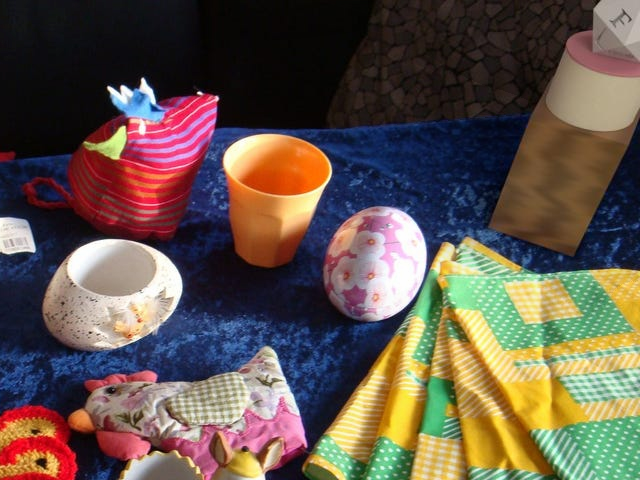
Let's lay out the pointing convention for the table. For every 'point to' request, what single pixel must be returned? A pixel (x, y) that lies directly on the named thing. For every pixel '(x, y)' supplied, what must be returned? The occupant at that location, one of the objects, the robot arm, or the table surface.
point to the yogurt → (594, 88)
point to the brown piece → (558, 180)
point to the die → (617, 29)
